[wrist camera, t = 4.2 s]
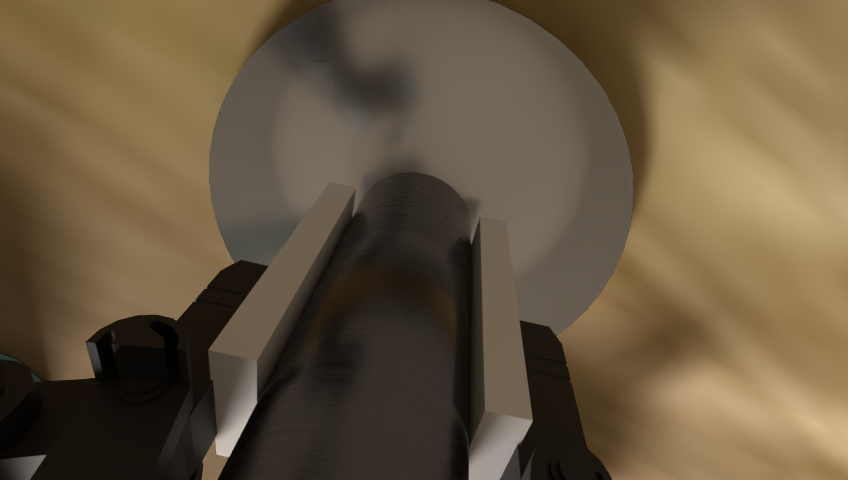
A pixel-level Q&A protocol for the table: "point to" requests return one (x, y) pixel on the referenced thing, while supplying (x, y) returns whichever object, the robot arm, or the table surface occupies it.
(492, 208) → the lid
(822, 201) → the table surface
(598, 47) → the table surface
